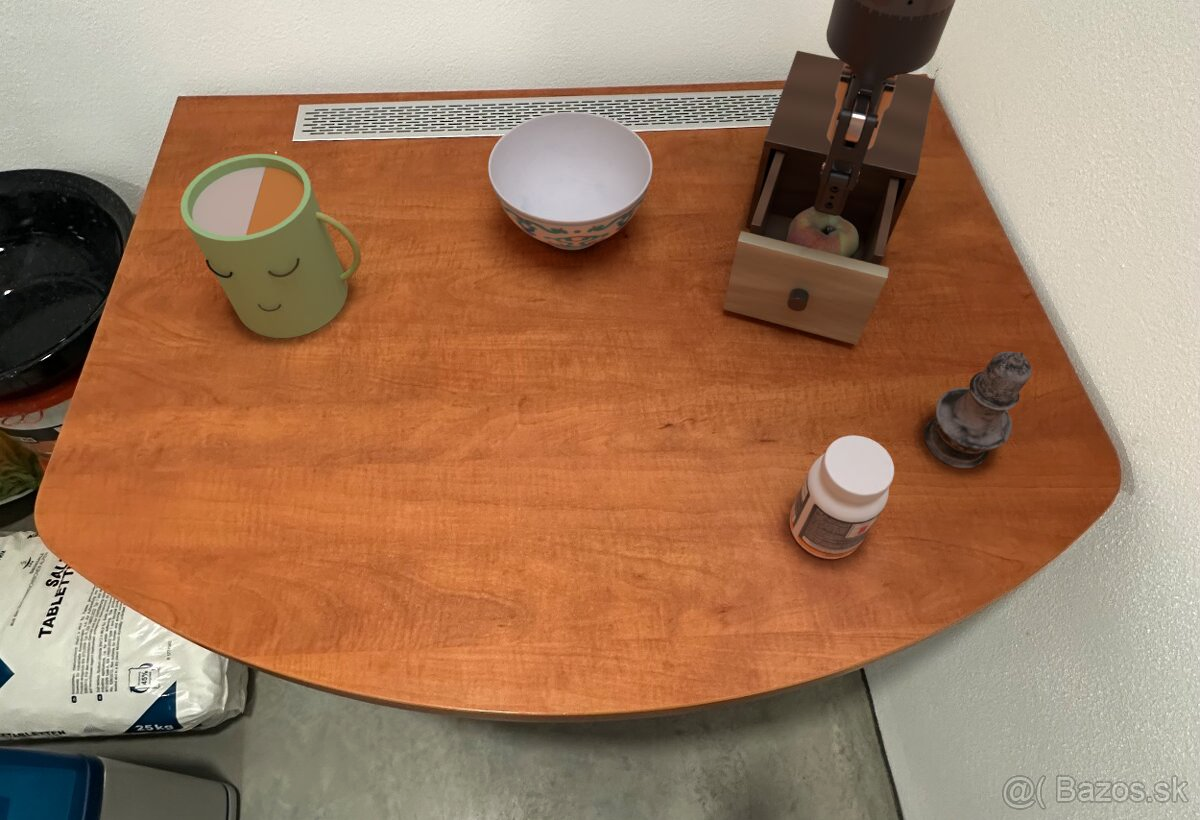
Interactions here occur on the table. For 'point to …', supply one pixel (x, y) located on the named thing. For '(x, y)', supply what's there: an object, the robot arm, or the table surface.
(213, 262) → the mug
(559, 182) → the chinaware
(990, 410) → the chess piece
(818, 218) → the apple
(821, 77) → the cabinet
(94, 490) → the table surface
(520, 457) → the table surface
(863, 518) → the pill bottle
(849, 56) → the robot arm
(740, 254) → the drawer
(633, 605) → the table surface
